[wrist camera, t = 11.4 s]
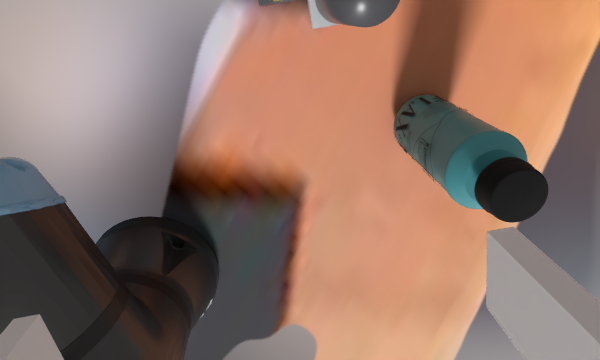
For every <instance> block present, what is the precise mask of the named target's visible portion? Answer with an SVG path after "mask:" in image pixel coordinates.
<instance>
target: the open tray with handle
mask: <svg viewBox="0 0 600 360" xmlns="http://www.w3.org/2000/svg"><path fill="white" fill-rule="evenodd" d="M399 1H400V0H308V7H309V14H310V21H311V28H312V29H315V28H321V27H326V26H332V25H338V24H342V25H350V26H358V27H371V26H375V25H378V24H380V23H382V22H384V21H385V20H386V19H388V18H389V17H390V16H391V15H392V13H393V12H394V11H395V9H396V8H397V6H398V4H399Z"/></svg>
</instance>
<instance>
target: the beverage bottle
mask: <svg viewBox="0 0 600 360" xmlns="http://www.w3.org/2000/svg"><path fill="white" fill-rule="evenodd" d="M466 111H467V110H466ZM466 111H465V109H464V110H462V109H460V107H459V108H458V107H456V106H454V105H453V104H451V103H448V101H447V100H444V99H442V98H440V97H438V96H433V95H432V94H429V95H428V94H427V95H422V94H421V96H417V97H416V96H415V97H414V98H411V99H410V100H408V101H407V102H406V103H405V104H404V105H403V106H402V107H401V108H400V110H399V111H398V113H397V115H396V118H395V121H394V122H395V123H394V130H395V135H394V136H396V138H397V140H398V142H399V143H398V144H400V146H401V148H403V150H404V151H405V152H406V153H409V155H410V156H411V157H412V159H413V160H414V159H415V160H416V161H417V162H418V164H420V165H421V166H422V167H423V168H424V169H425V170H426V171H427V172H428V173H429V174H430V175H431V176H432V177H433V178H434V179H435V181H437V182H438V183H439V184H440V185H441V187H443V188H444V189H445V190H446V191H447V192H448V194H449V195H450V197H451V198H452V199H453V200H454V201H456V202H457V203H458V204H460V205H462V206H464V207H467V208H471V209H484V210H486V211H487V212H489V213H491V214H492V215H494V216H495V217H496V218H498V219H500V220H502V221H505V222H520V221H523V220H526V219H528V218H530V217H532V216H533V215H534V214H536V213H537V212H538V211H539V210H540V209H541V208H542V206H543V205H544V203H545V201H546V199H547V195H548V184H547V181H546V179H545V177H544V176H543V175H542V174H541V173H540V172H539V171H537V170H536V169H535V168H534V167H533V166H532V165H531V164H529V163H528V162H527V155H526V151H525V149H524V147H523V145H522V144H521V142H520V141H519V140H518V139H517V138H516V137H514V136H513V135H511V134H509V133H507V132H504V131H501V130H499V129H497V128H495V127H493V126H491V125H489V124H487V123H486V122H484V121H482V120H480V119H478V118H476V117H474V115H473V116H472V115H471V114H469V113H467V112H466ZM396 138H395V139H396ZM425 170H423V171H425ZM429 174H428V175H429ZM429 177H430V176H429Z"/></svg>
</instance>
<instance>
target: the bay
mask: <svg viewBox="0 0 600 360" xmlns="http://www.w3.org/2000/svg"><path fill="white" fill-rule="evenodd" d="M258 1H259V6H260V7H262V6H267V5H273V4H278V3H284V2H289V1H295V0H258Z"/></svg>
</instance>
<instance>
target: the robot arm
mask: <svg viewBox="0 0 600 360" xmlns="http://www.w3.org/2000/svg"><path fill="white" fill-rule="evenodd" d="M65 202H66V200H65V198H64V197H63V196H59V194H58V193H57V192H56V191H55V190H54V189H53V187H52V186H51V185H50V184H49V183H48V182H47V180H46V179H45V178H44V177H43V176H42V174H41V173H40V172H39V171H38V170H37V168H36V167H35V166H34V165H32V164H31V163H29V162H27V161H25V160H23V159H20V158H14V157H6V158H0V360H183V359H184V354H185V350H186V346H187V342H188V338H189V334H190V331H191V330H192V328H193V327H194V326H195V324H196V323H197V321H198V320H199V319H200V318H201V317H202V316H203V315H204V313H205V312H206V311H207V310H208V308H209V307H210V305H211V303H212V301H213V299H214V296H215V293H216V288H217V284H218V278H219V269H218V263H217V260H216V257H215V255H214V252H213V251H212V249H211V247H210V246H209V245H208V243H207V242H206V241H205V240H204V239H203V238H202V237H201V236H200V235H199V234H198V233H197V232H195V231H194V230H192V229H191V228H189V227H187V226H186V225H184V224H181V223H179V222H177V221H174V220H170V219H166V218H161V217H138V218H133V219H129V220H126V221H123V222H121V223H119V224H117V225H115V226H113V227H112V228H110V229H109V230H108V231H106V232H105V233H104V234H103V235H102V237H101V238H100V239H99V240H98V242H97V243H96V244H95V243H94V242H93V240H92V239H91V238H90V236H89V235H88V234H87V232H86V231H85V230H84V228H83V227H82V226H81V224H80V223H79V221H78V220H77V219H76V217H75V216H74V215H73V213H72V212H71V211H70V209H69V207H68V206H67V205H66V203H65ZM486 301H487V302H486V303H487V304H486V306H487V309H488V310H489V311H490V313H491V314H492V315H493V317H495V319H496V320H497V322H498V323H499V325H500V326H501V327H502V329H503V330H504V331H505V333H506V334H507V336H508V337H509V338H510V340H511V341H512V342H513V344H514V345H515V346H516V348H517V349H518V350H519V352H520V353H521V354H522V356H523V357H524V358H525V360H600V302H599V301H598V300H597V299H596V298H595V297H594V296H592V295H591V294H590V293H589V292H588V291H587V290H586V289H584V288H583V287H582V286H581V285H580V284H579V283H577V282H576V281H575V280H574V279H573V278H572V277H571V276H569V275H568V274H567V273H566V272H565V271H564V270H563V269H561V268H560V267H559V266H558V265H557V264H556V263H555V262H553V261H552V260H551V259H550V258H549V257H548V256H546V255H545V254H544V253H543V252H542V251H541V250H540V249H538V248H537V247H536V246H535V245H534V244H533V243H532V242H530V241H529V240H528V239H527V238H526V237H525V236H523V235H522V234H521V233H520V232H519V231H518V230H517V229H515V228H514V227H509V228H504V229H498V230H493V231H487V295H486Z"/></svg>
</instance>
